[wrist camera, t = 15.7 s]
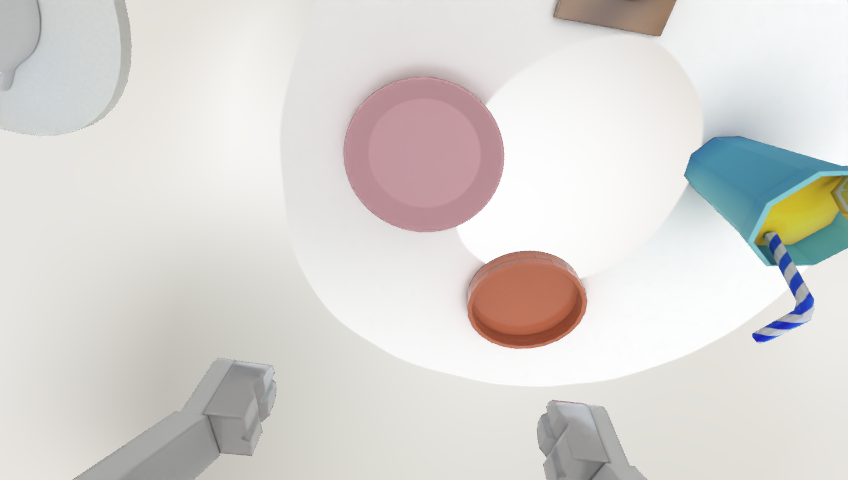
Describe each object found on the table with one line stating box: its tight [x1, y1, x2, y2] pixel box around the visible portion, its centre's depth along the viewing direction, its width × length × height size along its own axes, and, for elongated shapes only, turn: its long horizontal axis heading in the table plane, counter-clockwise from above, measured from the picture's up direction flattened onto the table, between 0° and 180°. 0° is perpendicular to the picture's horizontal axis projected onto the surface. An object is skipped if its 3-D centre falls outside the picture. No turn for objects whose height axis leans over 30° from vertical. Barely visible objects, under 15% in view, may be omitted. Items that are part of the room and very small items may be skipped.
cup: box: [684, 136, 848, 344], centre depth 27 cm, size 14×8×15 cm, turn 161°
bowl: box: [467, 251, 587, 349], centre depth 41 cm, size 13×13×2 cm
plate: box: [344, 77, 504, 232], centre depth 33 cm, size 14×14×2 cm
